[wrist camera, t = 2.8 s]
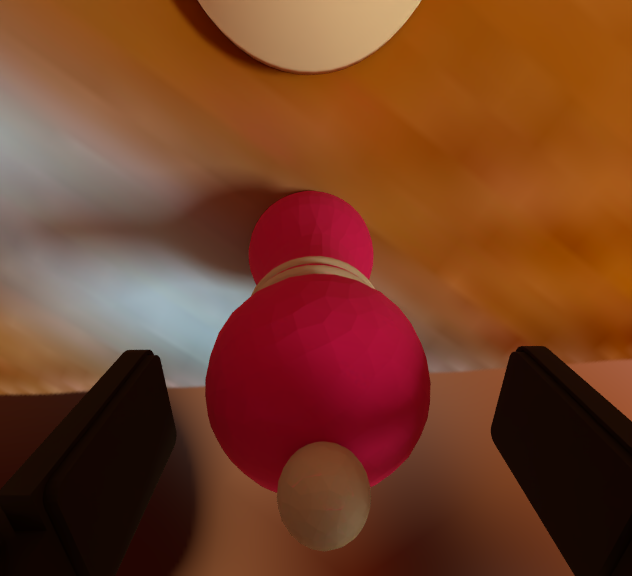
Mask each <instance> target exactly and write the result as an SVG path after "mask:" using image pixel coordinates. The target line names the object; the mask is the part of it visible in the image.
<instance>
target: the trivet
mask: <svg viewBox="0 0 632 576" xmlns="http://www.w3.org/2000/svg"><path fill="white" fill-rule="evenodd" d="M420 1H421V0H198V2H199V3H200V5H201V6H202V8H203V9H204V10H205V12H206V13H207V15H208V16H209V17H210V18H211V20H212V21H213V22H214V23H215V25H216V26H217V27H218V28H219V29H220V30H221V32H222V33H223V34H224V35H225V36H226V37H227V38H228V39H229V40H230V41H231V42H232V43H234V44H235V45H236V46H237V47H238V48H239V49H241V50H242V51H243V52H245V53H246V54H248V55H249V56H251V57H252V58H253V59H255V60H257V61H259V62H261V63H263V64H265V65H267V66H269V67H272V68H275V69H278V70H281V71H284V72H289V73H294V74H304V75H317V74H326V73H332V72H335V71H339V70H343V69H346V68H348V67H350V66H352V65H355V64H357V63H359V62H361V61H362V60H364V59H366V58H367V57H369V56H370V55H372V54H374V53H375V52H376V51H377V50H378V49H380V48H381V47H382V46H383V45H385V44H386V43H387V42H388V41H389V40H390V39H391V38H392V37H393V36H394V34H395V33H396V32H397V31H398V30H399V29H400V28H401V27H402V26H403V24H404V23H405V22H406V21H407V19H408V18H409V17H410V15H411V14H412V13H413V11H414V10H415V9H416V7H417V6H418V5H419V3H420Z"/></svg>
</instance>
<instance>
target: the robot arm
mask: <svg viewBox="0 0 632 576" xmlns="http://www.w3.org/2000/svg"><path fill="white" fill-rule="evenodd" d="M491 436H492V439H493V442H494V444H495V445H496V447H497V449H498V450H499V452H500V453H501V455H502V457H503V458H504V460H505V462H506V463H507V465H508V467H509V468H510V470H511V472H512V473H513V475H514V476H515V478H516V479H517V481H518V483H519V485H520V486H521V488H522V489H523V491H524V493H525V494H526V496H527V498H528V499H529V501H530V503H531V504H532V506H533V508H534V509H535V511H536V512H537V514H538V516H539V517H540V519H541V521H542V523H543V524H544V526H545V527H546V529H547V531H548V532H549V534H550V536H551V537H552V539H553V541H554V542H555V544H556V545H557V547H558V549H559V550H560V552H561V554H562V555H563V557H564V559H565V560H566V562H567V564H568V565H569V567H570V569H571V570H572V572H573V573H574V575H575V576H632V422H631V420H629V419H628V418H627V417H626V416H625V415H623V414H622V413H621V412H620V411H619V410H617V408H616V407H614V406H613V405H612V404H611V403H610V402H608V400H606V399H605V398H604V397H603V396H602V395H600V394H599V393H598V392H597V391H596V390H595V389H593V388H592V387H591V386H590V385H589V384H588V383H587V382H586V381H584V380H583V379H582V378H581V377H580V376H579V375H578V374H576V373H575V372H574V371H573V370H572V369H571V368H570V367H568V366H567V365H566V364H565V363H564V362H563V361H562V360H560V359H559V358H558V357H557V356H556V355H555V354H553V353H552V352H551V351H550V350H549V349H548V348H546V347H544V346H521V347H518V349H517V350H516V352H512V353H511V355H510V357H509V361H508V365H507V369H506V372H505V376H504V380H503V384H502V388H501V391H500V396H499V399H498V403H497V407H496V411H495V415H494V418H493V422H492V426H491ZM175 441H176V428H175V424H174V419H173V415H172V410H171V406H170V401H169V397H168V392H167V387H166V383H165V378H164V374H163V369H162V365H161V360H160V358H159V356H157V355H154V354H153V352H152V351H151V350H127V351H125V352H124V353H123V354H122V355H121V356H120V357H119V358H118V359H117V361H116V362H115V363H114V364H113V365H112V366H111V367H110V368H109V369H108V371H107V372H106V373H105V374H104V375H103V376H102V377H101V378H100V379H99V381H98V382H97V383H96V384H95V385H94V386H93V387H92V388H91V389H90V391H89V392H88V393H87V394H86V395H85V396H84V397H83V398H82V399H81V401H80V402H79V403H78V404H77V405H76V406H75V407H74V408H73V409H72V410H71V412H70V413H69V414H68V415H67V416H66V417H65V418H64V419H63V420H62V422H61V423H60V424H59V425H58V426H57V427H56V428H55V429H54V430H53V432H52V433H51V434H50V435H49V436H48V437H47V438H46V439H45V440H44V442H43V443H42V444H41V445H40V446H39V447H38V448H37V449H36V450H35V452H34V453H33V454H32V455H31V456H30V457H29V458H28V459H27V460H26V462H25V463H24V464H23V465H22V466H21V467H20V468H19V469H18V471H16V473H15V474H14V475H13V476H12V477H11V478H10V479H9V481H7V483H6V484H5V485H4V486H3V487H2V488H1V489H0V576H115V575H116V573H117V571H118V568H119V566H120V564H121V562H122V560H123V558H124V555H125V553H126V551H127V549H128V546H129V544H130V542H131V540H132V538H133V536H134V533H135V531H136V529H137V527H138V525H139V522H140V520H141V518H142V516H143V513H144V511H145V509H146V507H147V505H148V503H149V500H150V498H151V496H152V494H153V492H154V489H155V487H156V485H157V483H158V481H159V478H160V476H161V474H162V472H163V470H164V467H165V465H166V463H167V461H168V459H169V457H170V454H171V452H172V450H173V448H174V445H175Z"/></svg>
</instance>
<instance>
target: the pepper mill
mask: <svg viewBox="0 0 632 576" xmlns="http://www.w3.org/2000/svg"><path fill="white" fill-rule="evenodd" d="M249 265H250V270H251V273H252V275H253V278H254V281H255V283H256V285H257V286H256V287H255V289H254V291H253V293H252V295H251V297H250V298H249V299H248V300H246V301H245V302H244V303H243V304H242V305H241V306H240V307H238V308H237V309H236V310H235V311H234V312H233V313H232V314H231V316H230V317H229V319H228V320H227V322H226V323H225V325H224V326H223V328H222V329H221V331H220V332H219V334H218V337H217V340H216V342H215V345H214V348H213V350H212V353H211V356H210V360H209V365H208V370H207V375H206V392H205V396H206V404H207V411H208V417H209V421H210V424H211V428H212V430H213V432H214V434H215V436H216V438H217V440H218V442H219V444H220V445H221V447H222V449H223V450H224V452H225V453H226V455H227V456H228V457H229V459H230V460H231V461H232V462H233V463H234V464H235V465H236V466H237V467H238V468H239V469H240V470H241V471H242V472H243V473H244V474H246V475H247V476H248V477H250V478H251V479H252V480H254V481H255V482H256V483H258V484H259V485H260V486H262V487H264V488H266V489H269V490H271V491H274V492H276V493H277V502H278V509H279V512H280V515H281V518H282V521H283V523H284V525H285V526H286V528H287V529H288V531H289V533H290V534H291V535H292V536H293V537H294V538H295V539H296V540H297V541H298V542H300V543H301V544H303V545H305V546H307V547H309V548H311V549H314V550H320V551H328V550H333V549H337V548H341V547H343V546H344V545H346V544H347V543H349V542H350V541H352V540H353V539H355V538H356V536H357V535H358V534H359V532H360V531H361V530H362V528H363V526H364V524H365V522H366V520H367V516H368V512H369V509H370V504H371V491H370V487H372V486H374V485H376V484H377V483H379V482H380V481H382V480H383V479H384V478H386V477H387V476H389V475H390V474H391V473H393V471H395V470H396V469H397V468H398V467H399V466H400V465H401V464H402V463H403V462H404V461H405V460H406V459H407V458H408V457H409V455H410V454H411V452H412V450H413V448H414V447H415V445H416V443H417V442H418V440H419V438H420V436H421V434H422V431H423V429H424V426H425V423H426V421H427V418H428V411H429V405H430V377H429V371H428V365H427V359H426V356H425V353H424V350H423V347H422V345H421V342H420V340H419V338H418V336H417V334H416V332H415V330H414V328H413V327H412V325H411V323H410V321H409V320H408V319H407V318H406V316H405V315H404V314H403V312H402V311H401V310H400V309H399V307H398V306H396V305H395V304H394V303H393V302H392V301H390V300H389V299H388V298H387V297H386V296H384V295H383V294H382V293H381V292H379V291H377V290H375V288H374V287H373V285H372V284H371V283H370V281H369V278H370V274H371V270H372V266H373V247H372V241H371V237H370V234H369V231H368V228H367V226H366V224H365V222H364V220H363V219H362V218H361V216H360V215H359V213H358V212H357V211H356V210H355V209H354V208H353V207H352V206H351V205H349V204H348V203H347V202H345V201H344V200H342V199H340V198H338V197H336V196H334V195H331V194H328V193H324V192H317V191H303V192H298V193H294V194H291V195H288V196H286V197H284V198H282V199H280V200H278V201H277V202H275V203H274V204H272V205H271V206H270V207H269V208H268V209H267V210H266V211H265V212H264V213H263V214H262V215H261V217H260V219H259V220H258V222H257V223H256V225H255V228H254V230H253V233H252V237H251V241H250V246H249Z"/></svg>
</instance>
